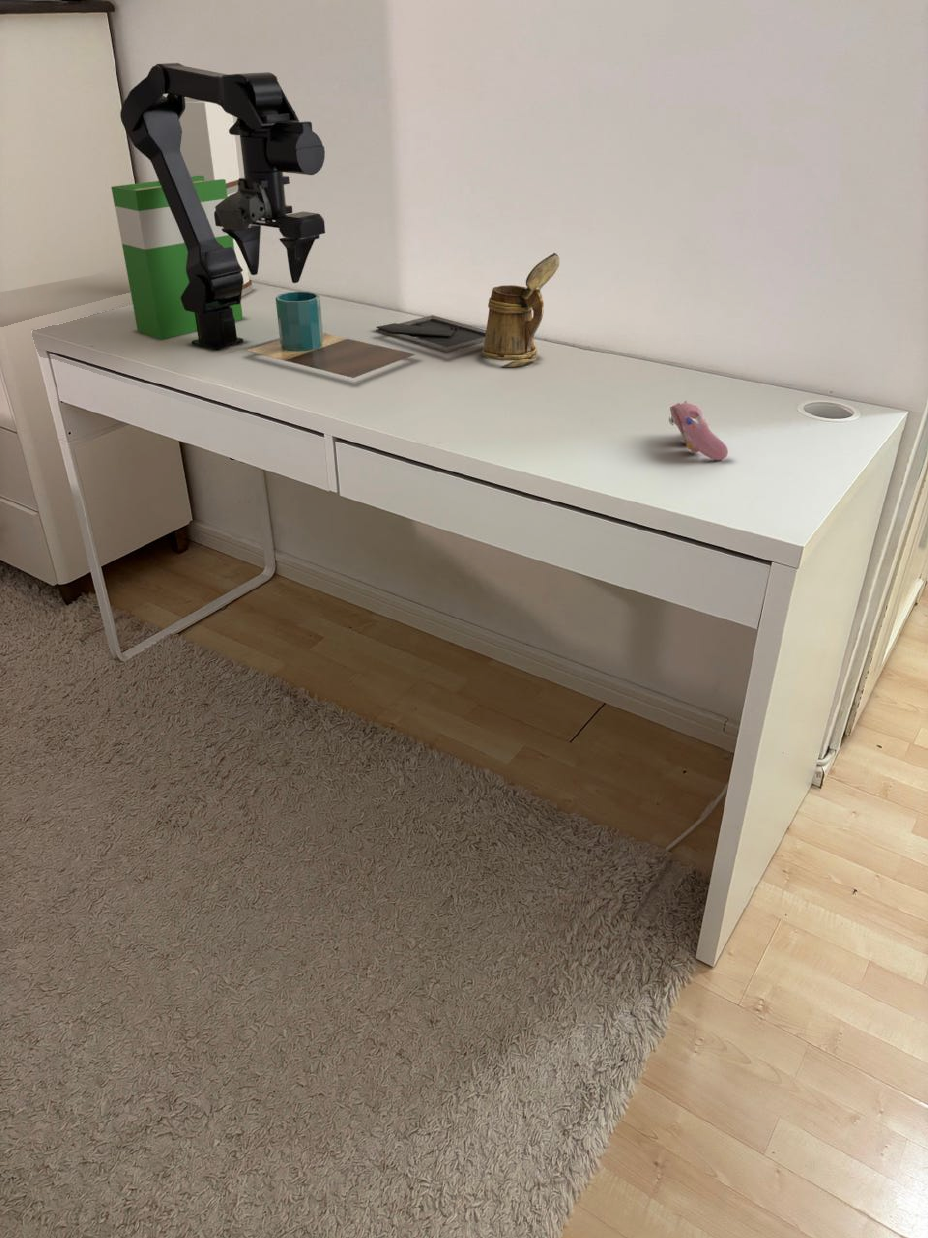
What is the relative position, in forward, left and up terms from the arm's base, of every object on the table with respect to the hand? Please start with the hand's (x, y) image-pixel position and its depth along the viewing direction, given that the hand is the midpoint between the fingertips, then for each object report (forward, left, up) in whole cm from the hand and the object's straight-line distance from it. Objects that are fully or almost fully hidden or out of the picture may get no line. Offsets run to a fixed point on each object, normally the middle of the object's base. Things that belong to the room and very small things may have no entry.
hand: (274, 278), depth 149 cm
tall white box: (-43, +23, -13) cm, 50 cm away
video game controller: (+71, +5, -13) cm, 72 cm away
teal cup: (0, +5, -12) cm, 13 cm away
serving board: (+6, +5, -13) cm, 15 cm away
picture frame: (+14, +24, -13) cm, 31 cm away
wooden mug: (+32, +22, -13) cm, 41 cm away
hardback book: (-29, +5, -13) cm, 32 cm away
